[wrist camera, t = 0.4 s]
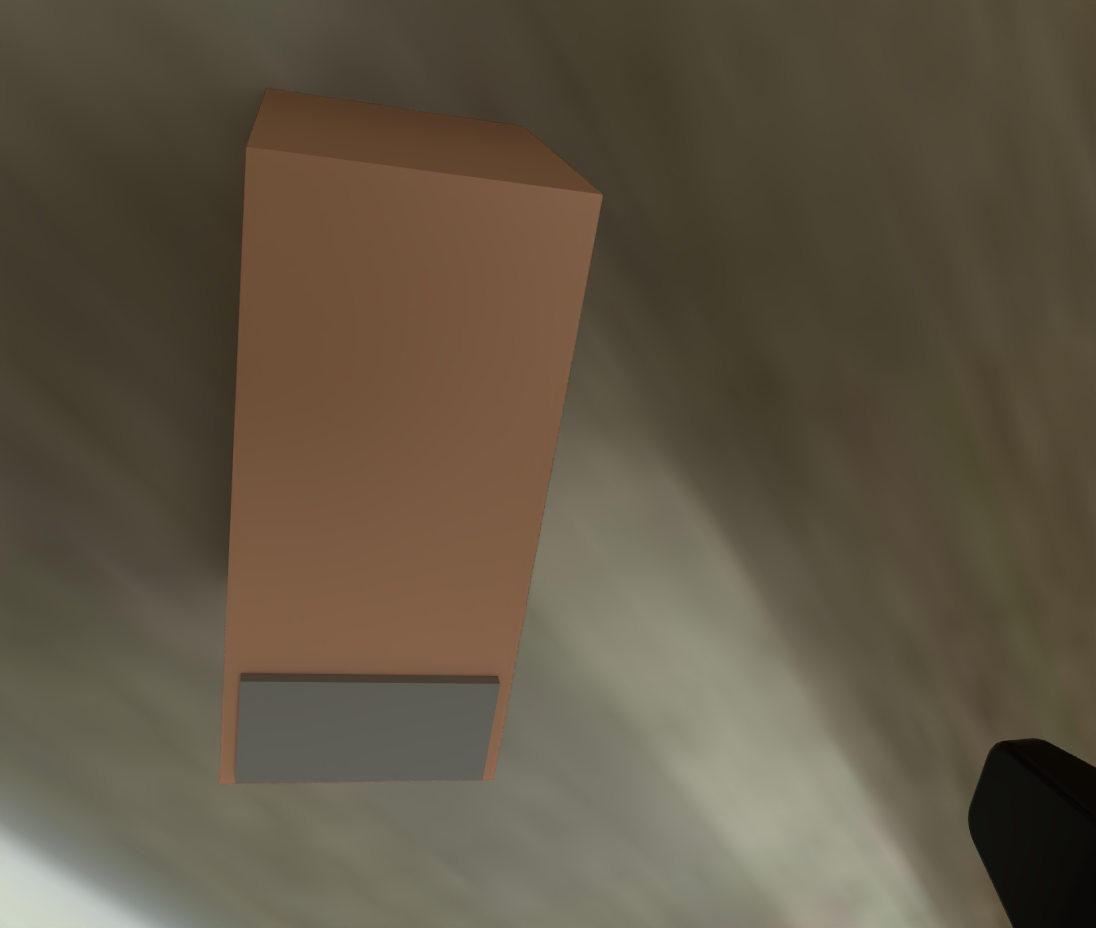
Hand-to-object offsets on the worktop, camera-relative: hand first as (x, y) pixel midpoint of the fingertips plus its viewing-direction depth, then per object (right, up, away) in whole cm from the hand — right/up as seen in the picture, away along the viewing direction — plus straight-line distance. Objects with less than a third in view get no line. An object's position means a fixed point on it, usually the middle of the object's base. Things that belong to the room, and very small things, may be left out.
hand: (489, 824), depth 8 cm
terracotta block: (-3, +5, +12) cm, 13 cm away
